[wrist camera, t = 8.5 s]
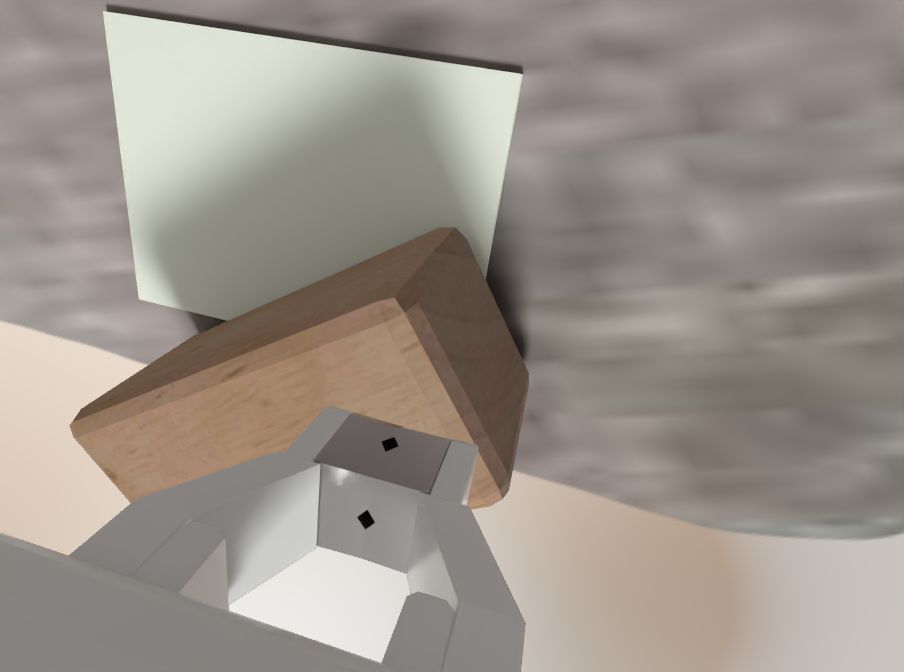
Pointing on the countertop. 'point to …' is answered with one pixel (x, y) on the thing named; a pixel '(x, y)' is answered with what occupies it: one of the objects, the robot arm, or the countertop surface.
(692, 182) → the countertop surface
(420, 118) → the mat
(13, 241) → the countertop surface
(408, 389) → the wooden block
